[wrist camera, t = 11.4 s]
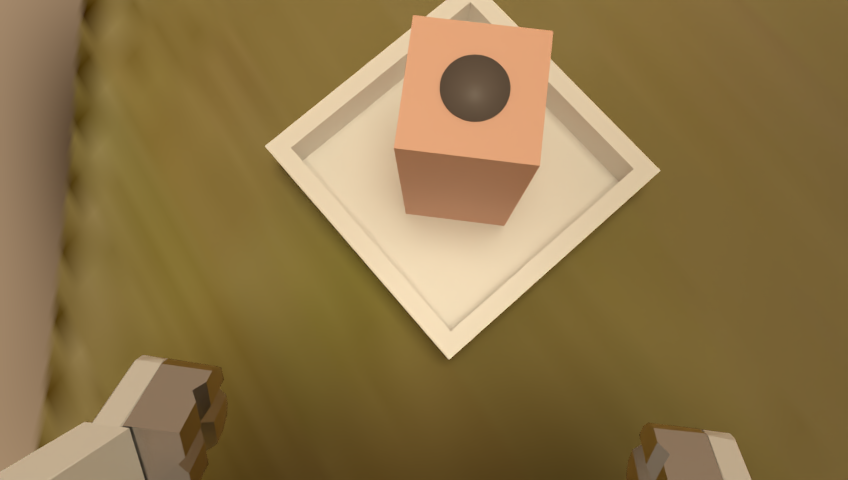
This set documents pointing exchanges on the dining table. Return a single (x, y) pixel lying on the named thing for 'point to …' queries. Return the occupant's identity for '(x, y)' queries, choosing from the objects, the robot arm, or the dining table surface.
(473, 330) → the tray
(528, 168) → the tall block
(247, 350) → the dining table surface
